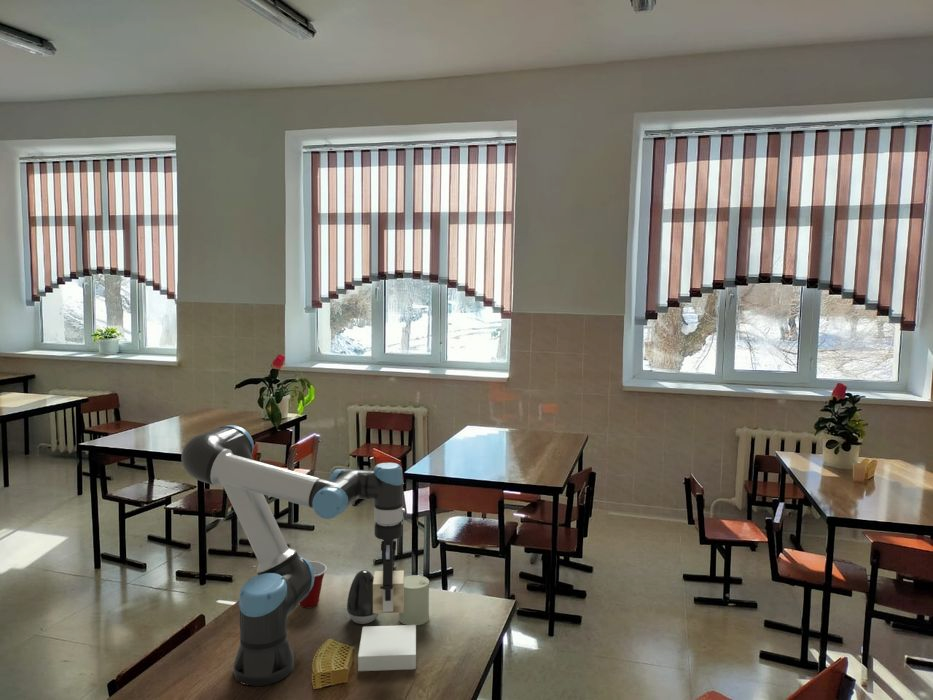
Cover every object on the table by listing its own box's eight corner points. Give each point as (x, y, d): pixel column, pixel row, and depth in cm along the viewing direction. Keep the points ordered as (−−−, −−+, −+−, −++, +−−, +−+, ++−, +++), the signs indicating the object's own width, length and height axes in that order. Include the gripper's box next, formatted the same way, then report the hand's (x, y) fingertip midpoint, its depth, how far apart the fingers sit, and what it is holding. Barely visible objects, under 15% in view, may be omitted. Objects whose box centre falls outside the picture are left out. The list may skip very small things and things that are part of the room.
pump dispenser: (370, 631, 185) (370, 581, 184) (340, 624, 189) (339, 574, 188) (387, 615, 195) (387, 567, 193) (358, 608, 199) (358, 561, 197)
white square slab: (358, 671, 166) (358, 656, 165) (362, 640, 181) (362, 626, 180) (415, 669, 167) (415, 654, 167) (415, 638, 182) (415, 624, 181)
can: (424, 627, 188) (424, 588, 187) (394, 624, 190) (394, 585, 189) (432, 612, 197) (432, 575, 196) (404, 609, 199) (404, 572, 198)
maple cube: (372, 613, 168) (372, 584, 168) (374, 599, 176) (374, 571, 176) (403, 612, 169) (403, 583, 168) (403, 598, 177) (403, 570, 176)
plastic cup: (322, 612, 196) (322, 574, 195) (287, 611, 196) (287, 574, 195) (330, 595, 207) (330, 560, 206) (297, 595, 207) (297, 559, 206)
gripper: (401, 535, 160) (401, 622, 162) (403, 508, 181) (403, 584, 183) (371, 536, 160) (372, 623, 162) (376, 508, 181) (377, 585, 183)
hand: (388, 602), depth 173 cm, fingers closed on maple cube, 8 cm apart
